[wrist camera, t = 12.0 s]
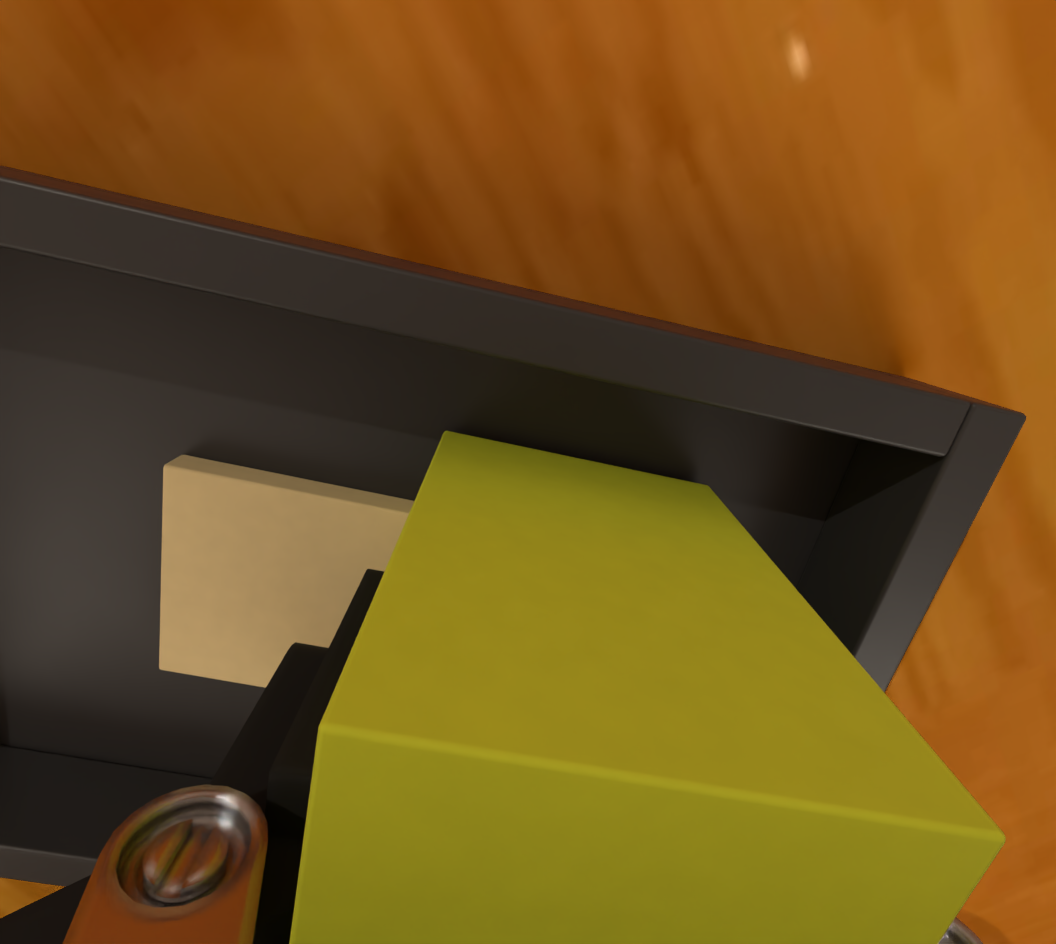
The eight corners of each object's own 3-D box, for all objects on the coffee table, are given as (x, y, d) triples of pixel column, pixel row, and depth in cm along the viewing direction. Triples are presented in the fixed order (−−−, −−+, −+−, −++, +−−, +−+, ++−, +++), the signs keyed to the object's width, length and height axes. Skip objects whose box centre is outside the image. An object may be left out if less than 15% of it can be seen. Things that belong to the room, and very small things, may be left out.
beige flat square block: (419, 500, 10) (413, 514, 10) (386, 686, 12) (379, 708, 11) (182, 452, 10) (161, 465, 9) (176, 649, 11) (157, 670, 11)
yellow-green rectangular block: (709, 484, 10) (1012, 839, 4) (601, 795, 12) (685, 1332, 6) (444, 429, 10) (317, 725, 3) (382, 761, 12) (241, 1295, 6)
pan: (909, 377, 10) (1030, 415, 8) (698, 856, 14) (736, 982, 12) (-190, 120, 9) (-464, 67, 6) (-95, 731, 13) (-245, 845, 10)
